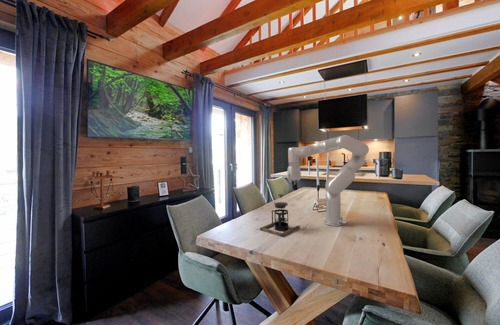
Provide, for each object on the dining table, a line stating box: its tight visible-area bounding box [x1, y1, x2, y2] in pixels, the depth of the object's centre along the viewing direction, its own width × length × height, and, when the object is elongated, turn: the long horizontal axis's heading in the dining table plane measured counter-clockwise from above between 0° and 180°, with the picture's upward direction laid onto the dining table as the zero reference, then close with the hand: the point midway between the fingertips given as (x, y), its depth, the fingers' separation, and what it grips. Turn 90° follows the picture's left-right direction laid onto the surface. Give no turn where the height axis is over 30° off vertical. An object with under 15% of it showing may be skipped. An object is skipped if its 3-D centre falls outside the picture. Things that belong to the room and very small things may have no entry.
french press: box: [271, 193, 290, 232], centre depth 142 cm, size 12×9×23 cm
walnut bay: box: [259, 221, 301, 238], centre depth 142 cm, size 18×20×2 cm
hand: (294, 189), depth 155 cm, fingers closed
